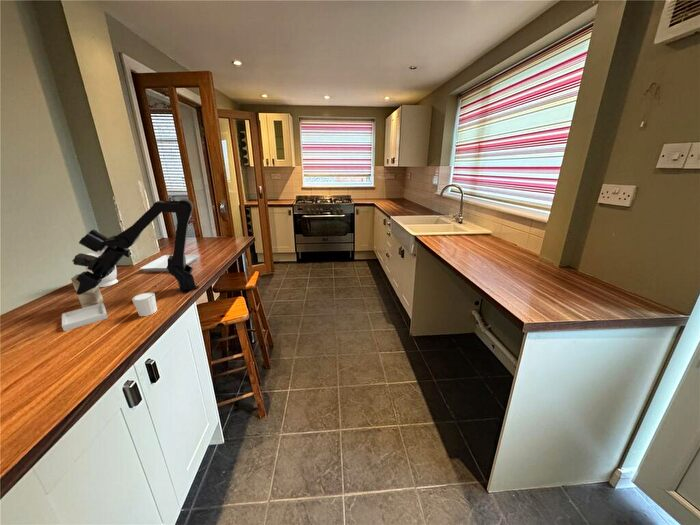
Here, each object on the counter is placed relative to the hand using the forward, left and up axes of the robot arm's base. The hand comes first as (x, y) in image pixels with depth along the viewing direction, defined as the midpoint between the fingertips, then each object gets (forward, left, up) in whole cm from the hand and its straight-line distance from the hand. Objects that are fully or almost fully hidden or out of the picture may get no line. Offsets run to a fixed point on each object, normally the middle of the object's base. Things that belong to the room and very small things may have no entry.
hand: (83, 289), depth 109 cm
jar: (+17, -14, -7) cm, 23 cm away
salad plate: (+11, -42, -7) cm, 45 cm away
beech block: (-1, -1, -7) cm, 7 cm away
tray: (-12, +6, -7) cm, 15 cm away
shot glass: (-29, -5, -7) cm, 30 cm away
